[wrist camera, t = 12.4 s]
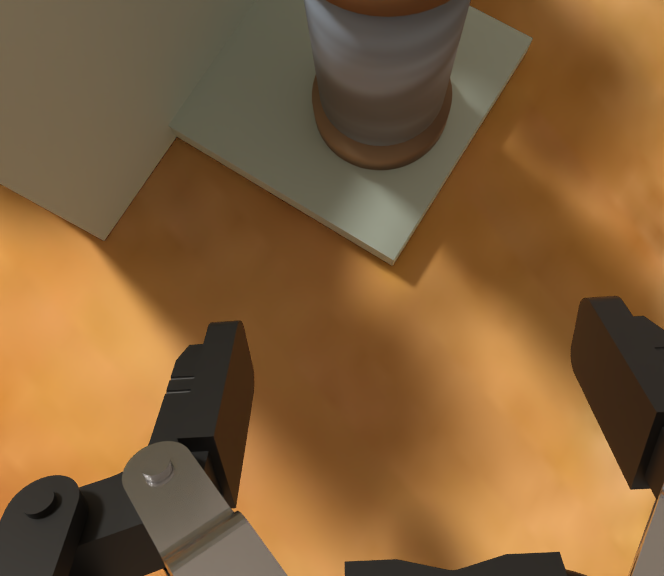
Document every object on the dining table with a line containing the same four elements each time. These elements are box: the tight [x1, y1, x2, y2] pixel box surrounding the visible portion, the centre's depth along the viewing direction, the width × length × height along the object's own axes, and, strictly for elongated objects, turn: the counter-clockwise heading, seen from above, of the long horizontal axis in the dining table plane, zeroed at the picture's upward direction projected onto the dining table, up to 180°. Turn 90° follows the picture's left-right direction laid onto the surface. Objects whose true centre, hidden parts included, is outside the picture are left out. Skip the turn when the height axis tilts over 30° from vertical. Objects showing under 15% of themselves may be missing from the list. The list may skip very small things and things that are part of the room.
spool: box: [304, 0, 471, 170], centre depth 17 cm, size 5×5×10 cm
